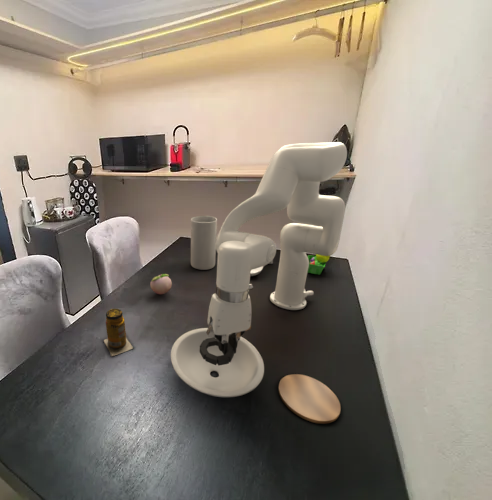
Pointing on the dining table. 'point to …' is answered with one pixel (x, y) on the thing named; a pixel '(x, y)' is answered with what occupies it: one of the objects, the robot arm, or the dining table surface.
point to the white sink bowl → (216, 366)
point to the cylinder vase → (203, 242)
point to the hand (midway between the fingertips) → (227, 350)
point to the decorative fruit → (161, 284)
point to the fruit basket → (317, 263)
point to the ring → (212, 358)
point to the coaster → (309, 398)
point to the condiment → (116, 333)
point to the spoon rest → (258, 270)
